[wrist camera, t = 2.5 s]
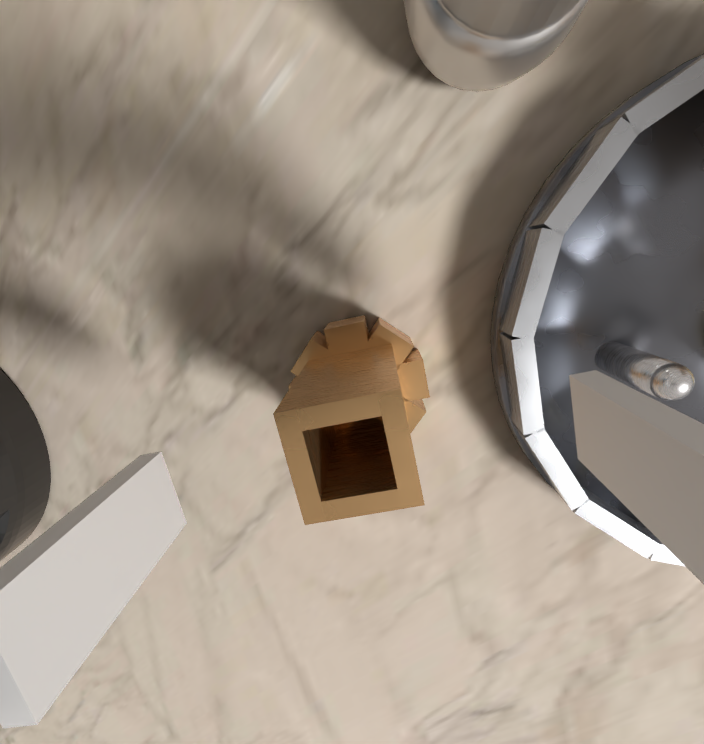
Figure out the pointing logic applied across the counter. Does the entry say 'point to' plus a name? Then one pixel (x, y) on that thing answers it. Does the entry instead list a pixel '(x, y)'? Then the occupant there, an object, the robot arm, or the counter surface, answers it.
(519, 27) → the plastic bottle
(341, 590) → the counter surface
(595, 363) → the bowl
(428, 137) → the counter surface
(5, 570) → the robot arm
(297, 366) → the hollow wooden square post
